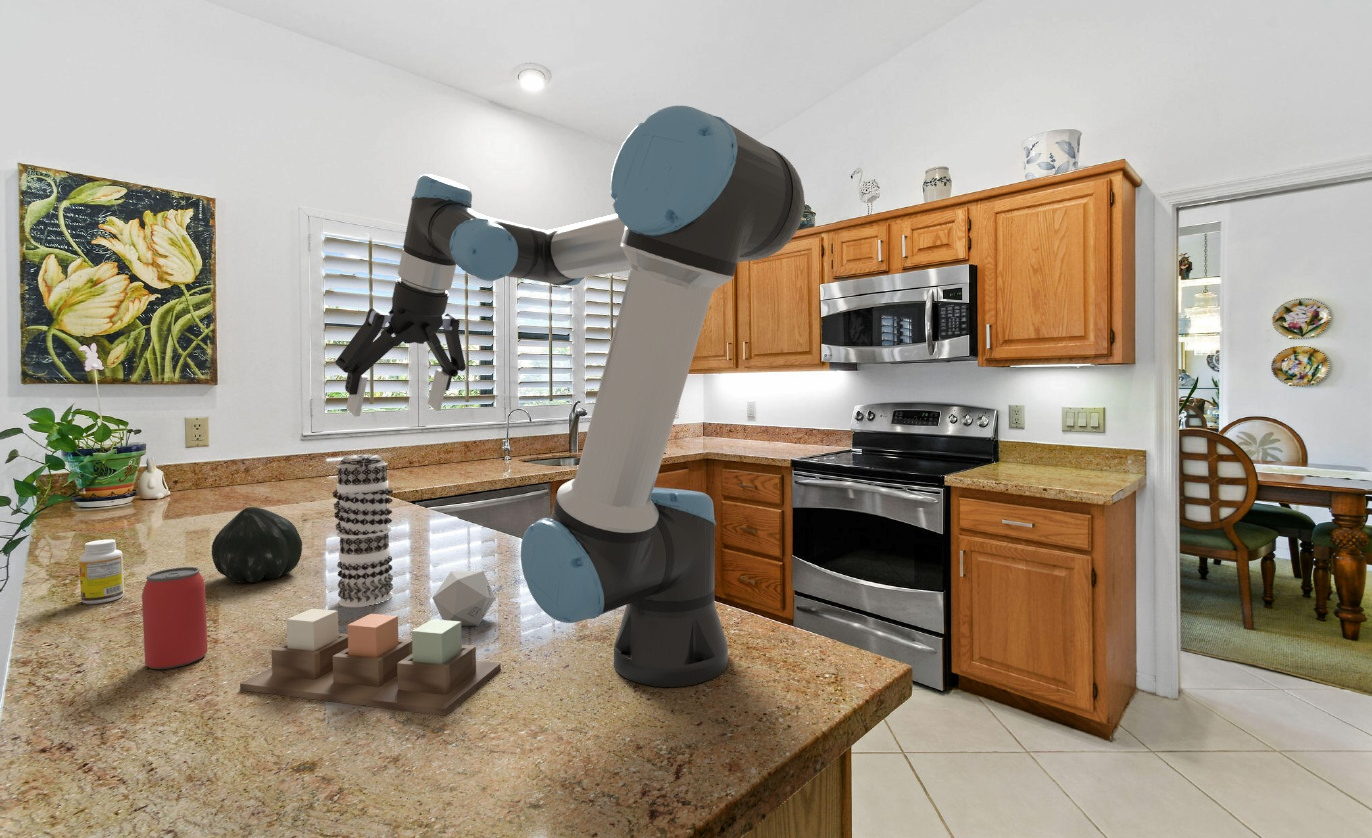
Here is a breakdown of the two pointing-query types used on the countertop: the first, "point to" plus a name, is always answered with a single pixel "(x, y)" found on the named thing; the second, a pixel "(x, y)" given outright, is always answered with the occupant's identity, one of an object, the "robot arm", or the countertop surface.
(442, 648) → the sage button
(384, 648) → the terracotta button
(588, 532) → the robot arm
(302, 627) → the ivory button
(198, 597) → the beer can
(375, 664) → the button board
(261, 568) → the squash
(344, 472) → the decorative candle
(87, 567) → the supplement bottle
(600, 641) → the countertop surface
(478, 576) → the die
